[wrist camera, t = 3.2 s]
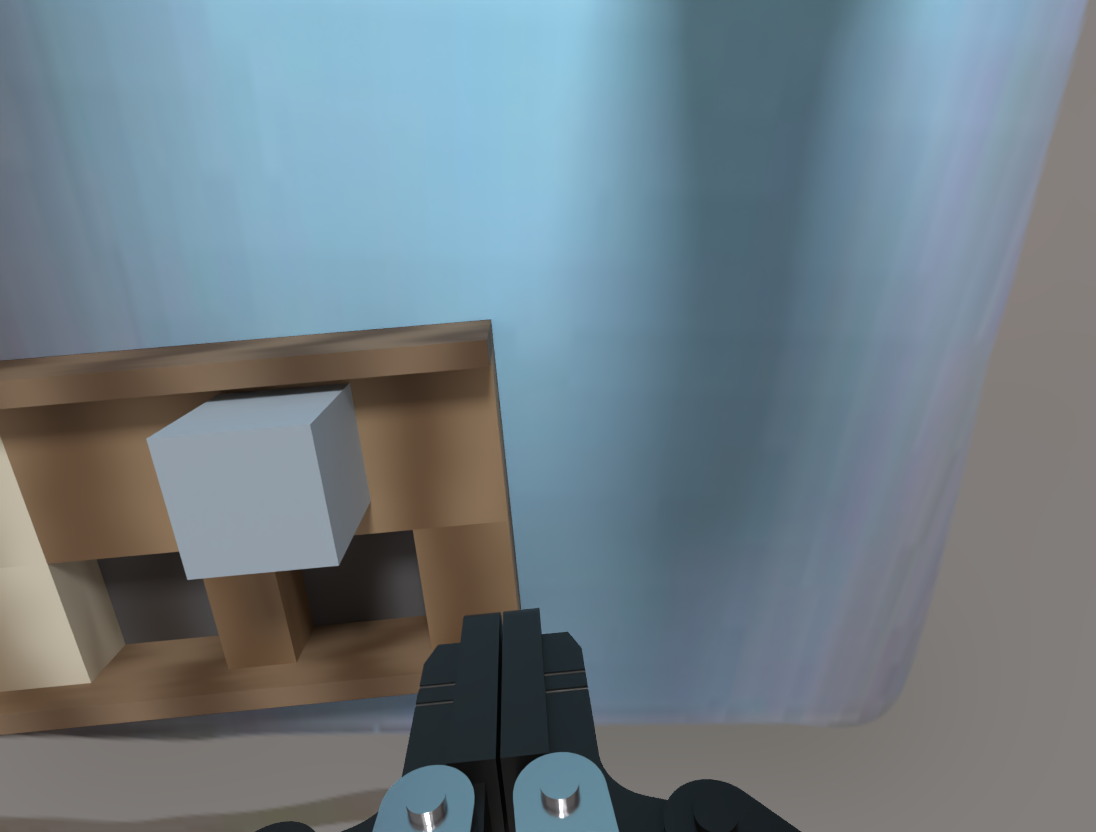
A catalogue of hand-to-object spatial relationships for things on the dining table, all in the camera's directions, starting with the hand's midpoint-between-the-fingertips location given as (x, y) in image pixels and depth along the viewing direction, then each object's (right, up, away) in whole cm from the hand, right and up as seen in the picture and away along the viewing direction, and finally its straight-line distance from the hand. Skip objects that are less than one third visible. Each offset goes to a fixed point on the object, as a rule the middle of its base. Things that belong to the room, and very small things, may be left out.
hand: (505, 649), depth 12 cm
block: (-9, +3, +12) cm, 16 cm away
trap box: (-14, 0, +16) cm, 21 cm away
